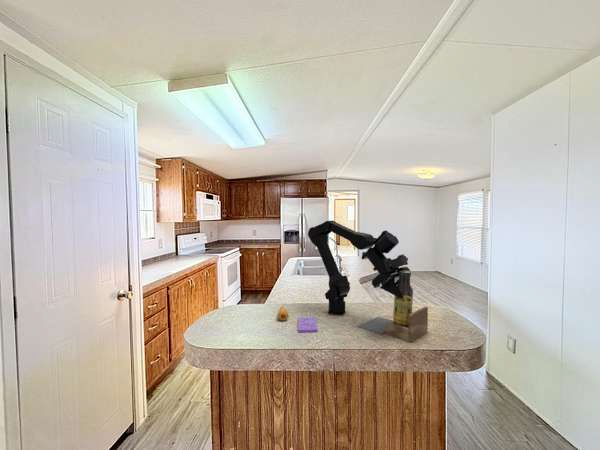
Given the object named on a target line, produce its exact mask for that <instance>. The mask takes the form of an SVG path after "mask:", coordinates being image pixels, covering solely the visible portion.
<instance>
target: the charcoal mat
mask: <svg viewBox="0 0 600 450" xmlns="http://www.w3.org/2000/svg"><path fill="white" fill-rule="evenodd" d="M387 322H389V323H392V324H393V319H392V320H391V319H388V318H385V317H381V316H377V317H374V318H372V319H370V320H368V321H365V322H363V323H360V324H358V325H357V328H361V329H364V330H367V331H370V332H372V333H373V332H374V333H377V334H379V335H383V334H386V323H387Z"/></svg>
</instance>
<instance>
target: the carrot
mask: <svg viewBox="0 0 600 450" xmlns="http://www.w3.org/2000/svg"><path fill="white" fill-rule="evenodd" d="M288 318H289V312H288V311H287V310H286V308H285V307H284V306H283V305H282V306H280V307H279V310H278V311H277V319H279V321H286V320H287V319H288Z"/></svg>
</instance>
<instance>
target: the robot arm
mask: <svg viewBox="0 0 600 450" xmlns="http://www.w3.org/2000/svg"><path fill="white" fill-rule="evenodd" d="M331 233H333V234H336V235H337V236H339V237H341V238H343V239H345V240H347V241H349V242H350V244H351V245H352V246H353V247H355V248H356V249H357V250H366V251H363V252H362V253H361V254H362V255H361V260H365V259H366V260H367V259H368V261H369V262H370V264H371V265H372V266H373V268H372V270H373V271H374V272H375V271H377V272H378V274H377V275H376V276H374V278H373V279H372V280H371V285H372V286H373V288H374V289H378V288H379V289H380V290H383V291H385V292H387V293H389V294H391V295H394V296H396V297H398V298H400V299H402V298H403V295H402V294H401V292H400V290H399V289H398V287H397V285H398V283H399V271H400V270H406V271H410V272H411V269H410V268H409V267H408V266H407V265H409V263H408V261H409V257H407V256H406V255H405V254H399V255H397V257H396V258H394V259H392V258H391V257H390V258H389V257H388V258H387V256H386V255H385V254H389V253H390V252H392V250H393V249H394V248H396V246H398V244H399V243H400V242H399V241H400V240H399V239H398V238H397V236H396V235H394V234H393V233H391V232H389V231H388V230H383V231H382V232H381V234H379V236H378V237H374V236H373V235H372V234H371V233H365V232H361V231H356V230H353V229H351V228H349V227H347V226H345V225H343V224H340V223H339V222H336V221H335V220H326V221H324V222H322V223H320V224H318V225H316V226H315V225H314V226H312V227H310V228H309V229H308V231H307V236H308V238H309V240H310V242H311V244H313V245H314V246H315V247H316V248H317V250H318V254H319V255H320V258H321V260H322V262H323V265H324V268H325V271H326V272H327V276H328V278H329V279H328V290H327V291H326V292H325V293H324V297H325V299H326V300H328V312H327V314H328V315H340V316H344V313H346V300H345V298H347V297H348V294H349V293H350V291H351V283H350V282H349V279H348V276H347V275H343V274H341V273H340V270H339V268H338V265H337V263H336V261H335V257H334V256H333V253H332V251H331V248H330V246H329V244H328V242H329V234H331Z"/></svg>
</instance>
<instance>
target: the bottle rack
mask: <svg viewBox="0 0 600 450" xmlns="http://www.w3.org/2000/svg"><path fill="white" fill-rule="evenodd" d="M428 312H429V307H428V306H422V307H421V308H420V309H418V310H415V311H412V313H411V314H409V323H408V328H407V327H403V326H399V325H396V324H392V323H389V322H387V323H386V332H385V334H386V335H388V336H391V337H395V338H398V339H401V340H403V341H407V342H408V343H413V342H415V341H416V340H418V339H419V338H420V337H422V336H424V335H425V334H427V333H428V327H429V326H428V323H429V322H428V321H429V319H428V318H429V317H428V315H429V313H428Z"/></svg>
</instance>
